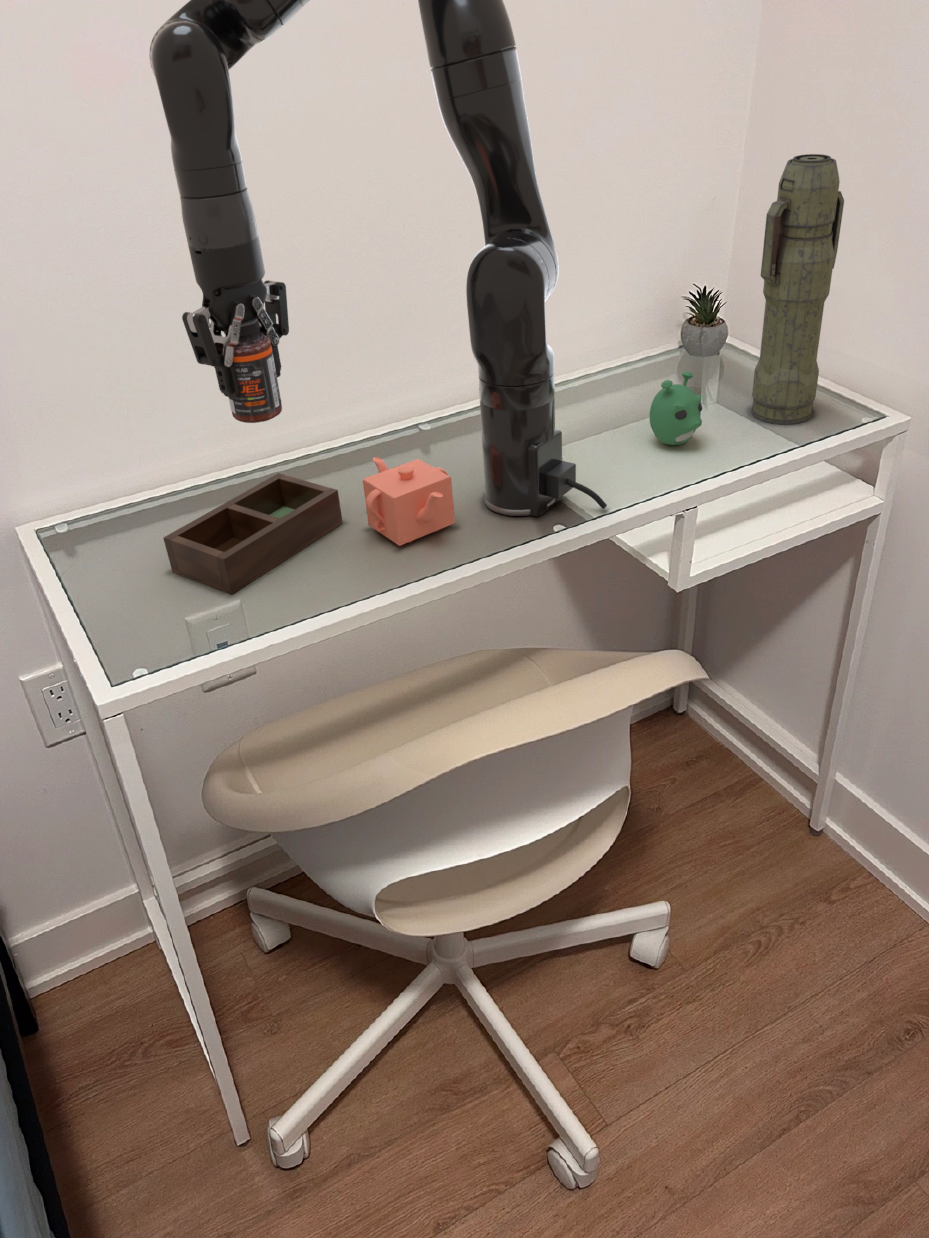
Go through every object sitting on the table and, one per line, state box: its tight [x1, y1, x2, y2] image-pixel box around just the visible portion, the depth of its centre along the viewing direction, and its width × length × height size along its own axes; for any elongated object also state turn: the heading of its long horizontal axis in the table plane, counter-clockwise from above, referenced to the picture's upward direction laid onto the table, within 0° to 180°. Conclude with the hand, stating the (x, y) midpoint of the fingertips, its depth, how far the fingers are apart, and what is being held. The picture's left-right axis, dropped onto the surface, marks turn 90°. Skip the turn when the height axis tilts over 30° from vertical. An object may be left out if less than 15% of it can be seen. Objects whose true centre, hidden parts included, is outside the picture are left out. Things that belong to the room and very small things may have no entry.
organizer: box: [162, 472, 344, 595], centre depth 124 cm, size 10×20×5 cm, turn 145°
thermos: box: [751, 153, 845, 425], centre depth 140 cm, size 9×12×35 cm
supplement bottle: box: [221, 318, 283, 424], centre depth 116 cm, size 6×6×11 cm
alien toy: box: [649, 370, 703, 446], centre depth 140 cm, size 7×8×10 cm
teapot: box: [362, 456, 456, 547], centre depth 125 cm, size 12×15×8 cm
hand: (252, 386), depth 117 cm, fingers closed on supplement bottle, 6 cm apart
